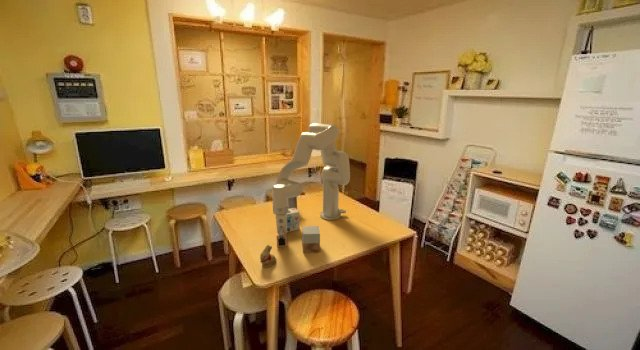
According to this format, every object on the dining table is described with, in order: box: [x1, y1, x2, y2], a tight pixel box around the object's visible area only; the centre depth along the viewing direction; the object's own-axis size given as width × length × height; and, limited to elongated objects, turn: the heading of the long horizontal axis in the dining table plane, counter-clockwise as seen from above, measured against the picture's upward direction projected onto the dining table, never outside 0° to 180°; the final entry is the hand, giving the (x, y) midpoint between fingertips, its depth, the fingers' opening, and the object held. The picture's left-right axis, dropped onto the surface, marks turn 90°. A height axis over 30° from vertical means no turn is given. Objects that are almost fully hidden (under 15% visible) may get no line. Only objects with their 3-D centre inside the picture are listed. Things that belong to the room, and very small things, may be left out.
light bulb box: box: [287, 208, 300, 233], centre depth 159 cm, size 11×7×11 cm, turn 117°
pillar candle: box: [288, 196, 298, 210], centre depth 180 cm, size 10×10×15 cm
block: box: [276, 231, 288, 248], centre depth 144 cm, size 5×5×6 cm
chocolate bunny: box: [259, 244, 277, 269], centre depth 127 cm, size 6×8×10 cm
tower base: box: [301, 235, 321, 254], centre depth 141 cm, size 8×8×5 cm
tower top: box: [301, 225, 321, 244], centre depth 139 cm, size 8×8×5 cm
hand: (281, 240), depth 145 cm, fingers open, 9 cm apart
